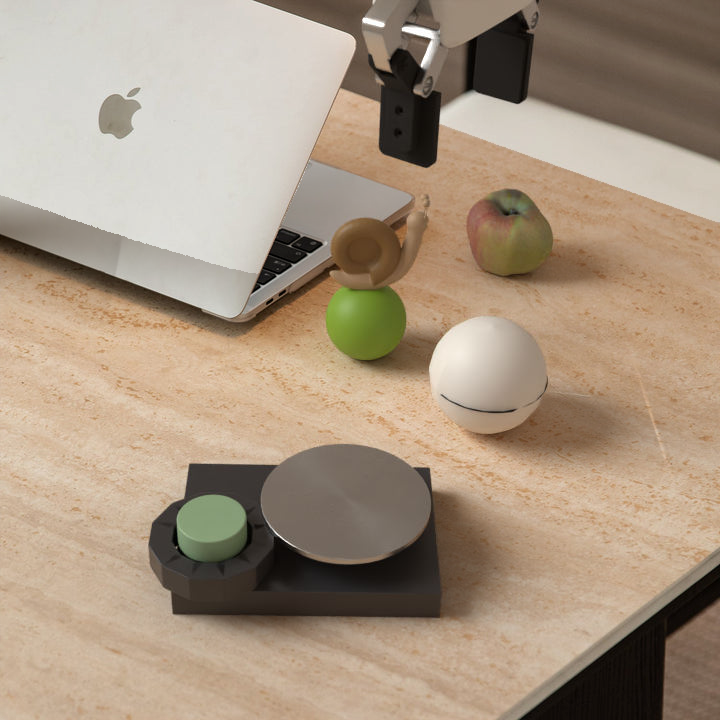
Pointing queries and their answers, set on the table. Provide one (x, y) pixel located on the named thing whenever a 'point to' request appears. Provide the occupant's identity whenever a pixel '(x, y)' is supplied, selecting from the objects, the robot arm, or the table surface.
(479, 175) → the table surface
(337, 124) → the table surface
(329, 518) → the weighing pan
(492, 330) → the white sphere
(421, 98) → the robot arm
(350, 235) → the snail figurine
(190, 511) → the tare button
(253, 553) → the scale
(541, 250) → the apple
